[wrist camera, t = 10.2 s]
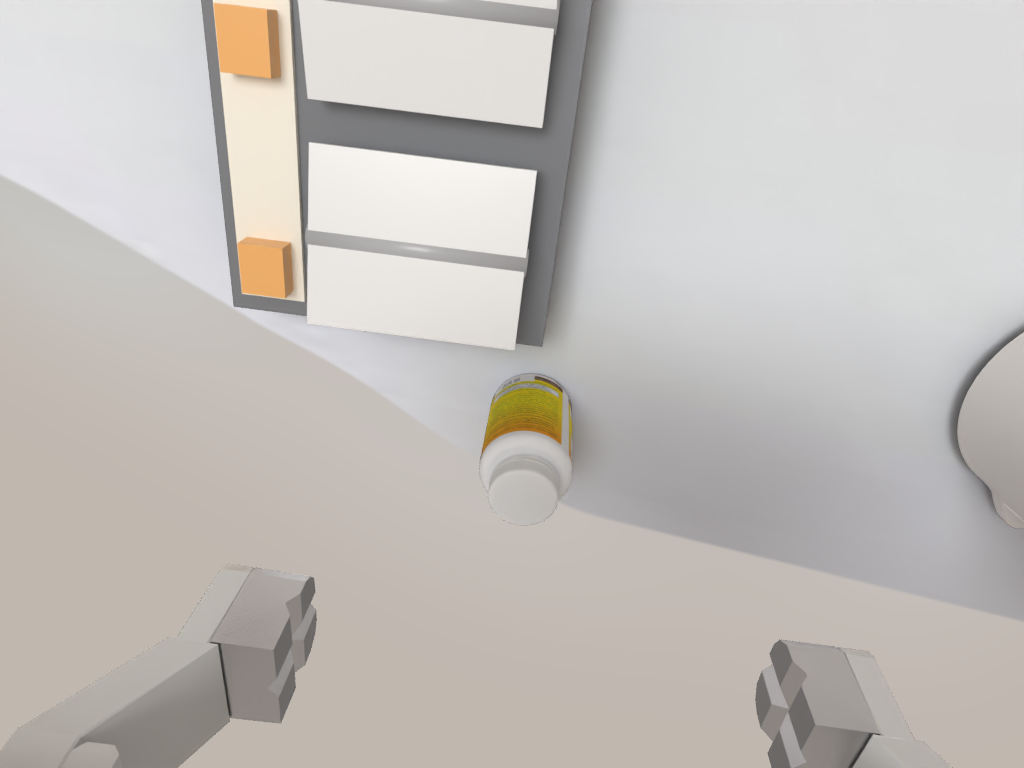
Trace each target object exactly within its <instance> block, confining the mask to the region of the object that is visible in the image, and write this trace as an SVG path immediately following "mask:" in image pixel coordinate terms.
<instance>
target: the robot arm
mask: <svg viewBox="0 0 1024 768" xmlns="http://www.w3.org/2000/svg"><path fill="white" fill-rule="evenodd" d="M957 435H958V443H959V448H960V451H961V454H962V456H963V458H964V460H965V462H966V463H967V465H968V466H969V468H970V469H971V470H972V471H973V472H974V473H975V474H976V475H977V476H978V477H979V478H980V479H981V480H982V481H983V482H984V483H985V484H986V485H987V486H988V487H989V488H990V490H991V491H992V497H993V501H994V506H995V509H996V511H997V514H998V515H999V516H1000V517H1001V518H1002V519H1003V520H1004V521H1005V522H1006V523H1007V524H1008V525H1010V526H1011V527H1013V528H1017V529H1024V332H1023V333H1022V334H1020V335H1019V336H1017V337H1016V338H1015V339H1013V340H1012V341H1011V342H1010V343H1008V344H1007V345H1006V346H1005V347H1004V348H1002V349H1001V350H1000V351H999V352H998V353H997V354H996V355H995V356H994V357H993V358H992V359H991V360H990V361H989V362H988V363H987V365H986V366H985V367H984V368H983V369H982V371H981V372H980V373H979V375H978V376H977V377H976V379H975V380H974V382H973V383H972V385H971V387H970V389H969V390H968V392H967V394H966V397H965V399H964V401H963V404H962V407H961V410H960V414H959V419H958V427H957ZM314 593H315V583H314V578H313V577H310V576H304V575H298V574H292V573H286V572H280V571H274V570H267V569H261V568H253V567H246V566H240V565H234V564H227V565H226V566H225V567H223V568H222V569H221V570H220V571H219V572H218V574H217V576H216V577H215V579H214V580H213V582H212V583H211V585H210V586H209V588H208V589H207V591H206V593H205V594H204V596H203V597H202V599H201V600H200V602H199V603H198V605H197V607H196V608H195V610H194V611H193V613H192V615H191V616H190V618H189V619H188V621H187V622H186V624H185V625H184V627H183V629H182V630H181V632H180V633H179V635H178V636H177V638H169V637H168V638H166V639H164V640H162V641H161V642H159V643H157V644H156V645H154V646H153V647H151V648H149V649H148V650H146V651H144V652H143V653H141V654H139V655H138V656H136V657H134V658H133V659H131V660H129V661H128V662H126V663H125V664H123V665H121V666H120V667H118V668H116V669H115V670H113V671H111V672H110V673H108V674H106V675H105V676H103V677H102V678H100V679H98V680H97V681H95V682H93V683H92V684H90V685H88V686H87V687H85V688H83V689H82V690H80V691H79V692H77V693H75V694H74V695H72V696H70V697H69V698H67V699H65V700H64V701H62V702H61V703H59V704H57V705H56V706H54V707H52V708H51V709H49V710H47V711H46V712H44V713H42V714H41V715H39V716H37V717H36V718H34V719H32V720H31V721H29V722H28V723H26V724H24V725H23V726H21V727H20V728H18V729H17V730H16V731H15V732H14V734H13V735H12V736H11V738H10V739H9V740H8V741H7V743H6V744H5V745H4V746H3V748H2V749H1V750H0V768H178V767H179V766H180V765H181V764H182V763H183V762H184V761H186V760H187V759H188V758H189V757H190V756H191V755H192V754H194V753H195V752H196V751H197V750H198V749H199V748H200V747H201V746H203V745H204V744H205V743H206V742H207V741H208V740H209V739H210V738H212V737H213V736H214V735H215V734H216V733H217V732H218V731H219V730H221V729H222V728H223V727H224V726H225V725H226V724H227V723H228V722H230V718H235V719H244V720H253V721H262V722H272V723H281V722H282V719H283V717H284V715H285V712H286V710H287V708H288V705H289V703H290V700H291V698H292V696H293V693H294V691H295V688H296V685H295V672H296V671H297V670H299V669H300V668H301V667H303V666H304V665H305V664H306V661H307V659H308V656H309V654H310V651H311V648H312V644H313V640H314V635H315V630H316V621H317V618H316V609H315V608H314V607H313V606H312V605H311V601H312V598H313V596H314ZM770 657H771V660H772V663H773V665H771V666H770V667H768V668H766V669H765V670H763V671H762V673H761V675H760V677H759V680H758V682H757V688H756V709H757V715H758V719H759V723H760V727H761V729H762V730H763V731H764V732H765V733H766V734H767V735H768V736H769V737H770V739H771V740H772V741H773V743H772V745H771V747H770V749H769V752H768V756H769V760H770V763H771V767H772V768H953V767H951V766H950V765H949V764H948V763H947V762H946V761H945V760H944V759H943V758H941V757H940V756H939V755H938V754H937V753H936V752H935V751H934V750H933V749H932V748H930V747H929V746H928V745H927V744H926V743H925V742H922V741H917V740H915V739H914V737H913V735H912V733H911V731H910V729H909V727H908V725H907V723H906V721H905V719H904V717H903V715H902V713H901V711H900V709H899V707H898V705H897V703H896V701H895V699H894V697H893V695H892V693H891V691H890V689H889V686H888V685H887V682H886V680H885V679H884V676H883V674H882V672H881V670H880V668H879V666H878V664H877V662H876V660H875V658H874V657H873V656H872V655H871V654H870V653H869V652H868V651H863V650H855V649H847V648H836V647H834V646H826V645H818V644H810V643H801V642H794V641H786V640H779V641H778V642H776V643H775V644H774V646H773V648H772V650H771V652H770Z"/></svg>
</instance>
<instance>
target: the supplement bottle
mask: <svg viewBox="0 0 1024 768" xmlns="http://www.w3.org/2000/svg"><path fill="white" fill-rule="evenodd" d="M572 462H573V461H572V408H571V402H570V399H569V397H568V395H567V393H566V392H565V390H564V389H563V388H562V387H561V386H560V385H559V384H558V383H557V382H555V381H554V380H552V379H550V378H548V377H546V376H543V375H538V374H522V375H518V376H515V377H513V378H511V379H509V380H507V381H506V382H504V383H503V384H502V385H501V386H500V387H499V388H498V390H497V391H496V393H495V395H494V397H493V400H492V403H491V408H490V413H489V418H488V423H487V428H486V433H485V439H484V444H483V449H482V454H481V458H480V465H479V474H480V479H481V482H482V485H483V487H484V488H485V490H486V491H487V493H488V500H489V504H490V506H491V508H492V510H493V511H494V513H495V514H496V515H497V516H499V517H500V518H501V519H503V520H504V521H507V522H509V523H511V524H515V525H521V526H522V525H523V526H527V525H534V524H537V523H540V522H542V521H544V520H546V519H547V518H549V517H550V516H551V515H552V514H553V512H554V511H555V509H556V507H557V503H558V500H559V499H560V498H561V497H562V496H563V495H564V494H565V493H566V491H567V490H568V488H569V486H570V483H571V479H572Z"/></svg>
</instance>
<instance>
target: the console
mask: <svg viewBox="0 0 1024 768" xmlns="http://www.w3.org/2000/svg"><path fill="white" fill-rule="evenodd" d="M201 4H202V13H203V22H204V32H205V41H206V50H207V60H208V69H209V79H210V88H211V97H212V107H213V116H214V125H215V135H216V144H217V154H218V163H219V172H220V182H221V191H222V200H223V210H224V219H225V229H226V238H227V247H228V257H229V266H230V275H231V285H232V294H233V303H234V307H241V308H249V309H257V310H264V311H272V312H280V313H287V314H295V315H303V316H307V268H308V248H307V246H306V242H305V232H306V227H307V225H308V174H309V142H318V143H326V144H334V145H342V146H350V147H358V148H365V149H373V150H381V151H389V152H397V153H405V154H413V155H421V156H429V157H436V158H444V159H452V160H460V161H468V162H476V163H484V164H492V165H500V166H507V167H515V168H523V169H531V170H537V178H536V186H535V194H534V202H533V210H532V218H531V226H530V233H529V241H528V249H529V257H528V265H527V272H526V277H524V281H523V289H522V297H521V305H520V313H519V321H518V329H517V337H516V343H517V344H525V345H533V346H540V347H542V345H543V338H544V331H545V324H546V317H547V310H548V303H549V296H550V290H551V283H552V276H553V269H554V262H555V255H556V248H557V241H558V234H559V227H560V221H561V214H562V207H563V200H564V193H565V186H566V179H567V172H568V165H569V158H570V151H571V145H572V138H573V131H574V124H575V117H576V110H577V103H578V96H579V89H580V82H581V76H582V69H583V62H584V55H585V48H586V41H587V34H588V27H589V20H590V13H591V6H592V0H560V7H559V16H558V24H557V31H556V35H554V38H553V46H552V54H551V63H550V71H549V79H548V88H547V96H546V104H545V113H544V121H543V126H542V128H537V127H529V126H521V125H513V124H505V123H497V122H489V121H481V120H473V119H465V118H457V117H449V116H441V115H433V114H425V113H418V112H410V111H402V110H394V109H386V108H378V107H370V106H362V105H354V104H346V103H338V102H330V101H322V100H314V99H308V97H307V87H306V77H305V67H304V57H303V47H302V37H301V27H300V16H299V6H298V2H297V0H201Z"/></svg>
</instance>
